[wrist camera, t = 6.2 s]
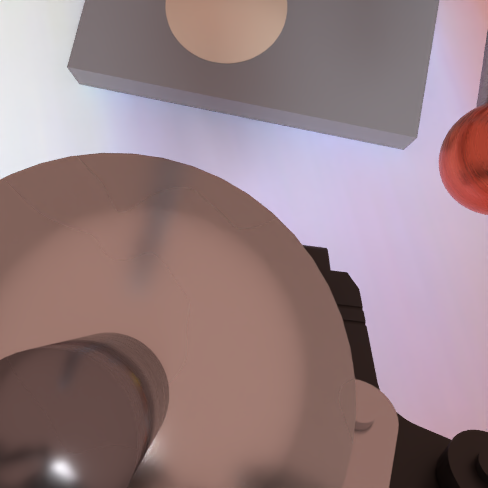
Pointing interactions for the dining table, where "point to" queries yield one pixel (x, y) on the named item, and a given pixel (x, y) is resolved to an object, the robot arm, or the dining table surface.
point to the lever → (469, 152)
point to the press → (268, 60)
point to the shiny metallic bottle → (163, 335)
